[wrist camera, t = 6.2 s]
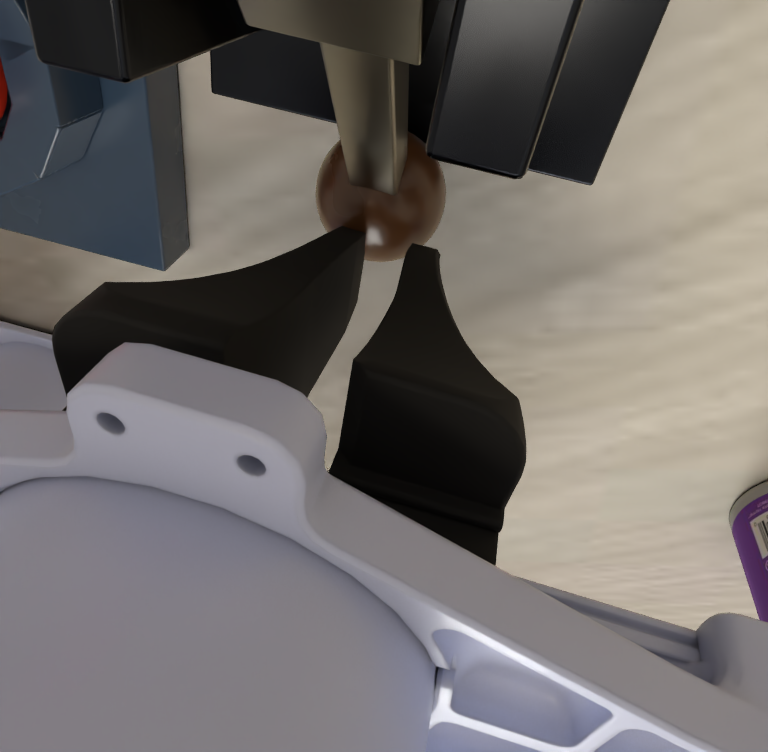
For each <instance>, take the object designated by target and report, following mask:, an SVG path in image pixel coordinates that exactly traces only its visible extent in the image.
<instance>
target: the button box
mask: <svg viewBox="0 0 768 752" xmlns="http://www.w3.org/2000/svg"><path fill="white" fill-rule="evenodd" d="M0 59H1V63H2V67H3V71H4V75H5V79H6V83H7V90H8V95H7V104H6V109H5V112H4V114H3V116H2V118H1V120H0V228H2V229H6V230H10V231H13V232H17V233H21V234H25V235H28V236H32V237H36V238H40V239H44V240H47V241H51V242H55V243H59V244H63V245H66V246H70V247H74V248H78V249H82V250H85V251H89V252H93V253H97V254H100V255H104V256H108V257H112V258H116V259H119V260H123V261H127V262H131V263H135V264H138V265H142V266H146V267H150V268H153V269H157V270H161V271H166V270H167V269H168V268H169V267H170V266H171V265H172V264H173V263H174V262H175V261H176V260H177V259H178V258H179V257H180V256H182V255H183V254H184V253H185V252H186V251H187V250H188V249H189V237H188V223H187V208H186V194H185V179H184V164H183V150H182V135H181V121H180V106H179V92H178V77H177V64H175V65H173V66H170V67H168V68H165V69H163V70H160V71H158V72H155V73H153V74H150V75H148V76H145V77H142V78H140V79H137V80H135V81H132V82H130V83H126V84H124V83H120V82H116V81H112V80H108V79H104V78H100V77H96V76H91V75H87V74H83V73H79V72H75V71H71V70H67V69H63V68H59V67H55V66H51V65H47V64H44V63H42V62H41V61H39V60H38V58H37V56H36V53H35V48H34V43H33V38H32V34H31V29H30V24H29V20H28V15H27V10H26V6H25V1H24V0H0Z"/></svg>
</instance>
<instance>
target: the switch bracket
mask: <svg viewBox="0 0 768 752" xmlns="http://www.w3.org/2000/svg"><path fill="white" fill-rule="evenodd" d="M24 1H25V6H26V10H27V15H28V20H29V24H30V29H31V34H32V38H33V43H34V48H35V53H36V56H37V58H38V60H39V61H41V62H42V63H44V64H47V65H51V66H55V67H59V68H63V69H67V70H71V71H75V72H79V73H83V74H87V75H91V76H96V77H100V78H104V79H108V80H112V81H116V82H120V83H124V84H126V83H130V82H132V81H135V80H137V79H140V78H142V77H145V76H148V75H150V74H153V73H155V72H158V71H160V70H163V69H165V68H168V67H170V66H173V65H175V64H178V63H180V62H183V61H185V60H188V59H191V58H193V57H196V56H198V55H201V54H203V53H206V52H208V51H210V57H211V87H212V93H214V94H218V95H222V96H226V97H230V98H234V99H238V100H243V101H247V102H251V103H255V104H259V105H263V106H267V107H271V108H275V109H279V110H283V111H287V112H292V113H296V114H300V115H304V116H308V117H312V118H316V119H320V120H324V121H328V122H332V123H337V121H336V117H335V112H334V107H333V103H332V98H331V93H330V89H329V84H328V79H327V75H326V70H325V65H324V61H323V56H322V51H321V47H320V42H316V41H312V40H308V39H304V38H299V37H295V36H291V35H287V34H283V33H278V32H274V31H270V30H266V29H261V28H257V27H253V26H249V25H247V24H246V23H245V21H244V19H243V16H242V13H241V11H240V8H239V6H238V3H237V1H236V0H24ZM669 2H670V0H440V1H439V4H438V8H437V11H436V15H435V18H434V22H433V26H432V29H431V33H430V36H429V40H428V43H427V47H426V51H425V54H424V58H423V61H422V63H421V64H420V65H413V64H409V90H408V132H410V133H412V134H414V135H415V136H417V137H418V138H419V139H421V140H422V141H423V142H424V143H425V144H426V146H425V149H426V154H427V156H429V157H430V158H432V159H434V160H438V161H442V162H446V163H450V164H454V165H459V166H463V167H467V168H471V169H475V170H479V171H483V172H487V173H491V174H495V175H499V176H503V177H507V178H511V179H521V178H522V177H523V176H524V175H525V174H526V173H527V170H529V171H533V172H537V173H541V174H545V175H549V176H553V177H557V178H561V179H565V180H570V181H574V182H578V183H582V184H586V185H592V184H593V183H594V180H595V178H596V176H597V173H598V171H599V169H600V166H601V164H602V161H603V159H604V157H605V154H606V152H607V149H608V147H609V145H610V142H611V140H612V138H613V135H614V133H615V130H616V128H617V126H618V123H619V121H620V118H621V116H622V114H623V111H624V109H625V107H626V104H627V102H628V99H629V97H630V95H631V92H632V90H633V87H634V85H635V83H636V80H637V78H638V76H639V73H640V71H641V68H642V66H643V64H644V61H645V59H646V56H647V54H648V52H649V49H650V47H651V45H652V42H653V40H654V37H655V35H656V33H657V30H658V28H659V25H660V23H661V21H662V18H663V16H664V14H665V11H666V9H667V6H668V4H669Z"/></svg>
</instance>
